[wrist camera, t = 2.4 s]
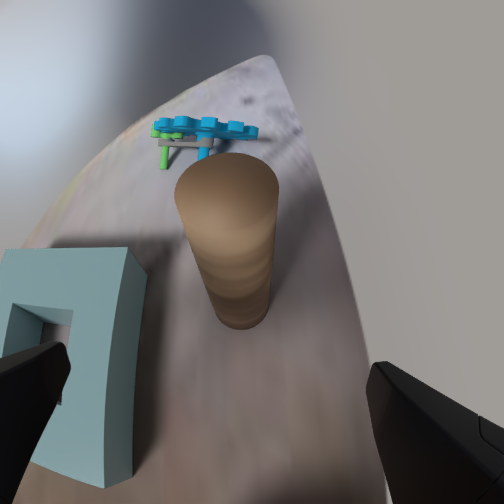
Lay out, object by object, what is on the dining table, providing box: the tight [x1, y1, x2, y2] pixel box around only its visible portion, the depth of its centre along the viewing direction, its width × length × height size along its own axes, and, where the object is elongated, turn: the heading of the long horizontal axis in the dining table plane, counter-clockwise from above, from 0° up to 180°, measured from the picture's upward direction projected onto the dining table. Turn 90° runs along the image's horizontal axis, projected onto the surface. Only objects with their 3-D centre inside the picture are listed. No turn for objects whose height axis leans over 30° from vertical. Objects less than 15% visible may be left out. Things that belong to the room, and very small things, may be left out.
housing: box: [0, 247, 148, 489], centre depth 18 cm, size 16×13×4 cm
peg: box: [175, 153, 279, 330], centre depth 17 cm, size 4×4×12 cm
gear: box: [151, 116, 259, 169], centre depth 27 cm, size 11×6×10 cm
